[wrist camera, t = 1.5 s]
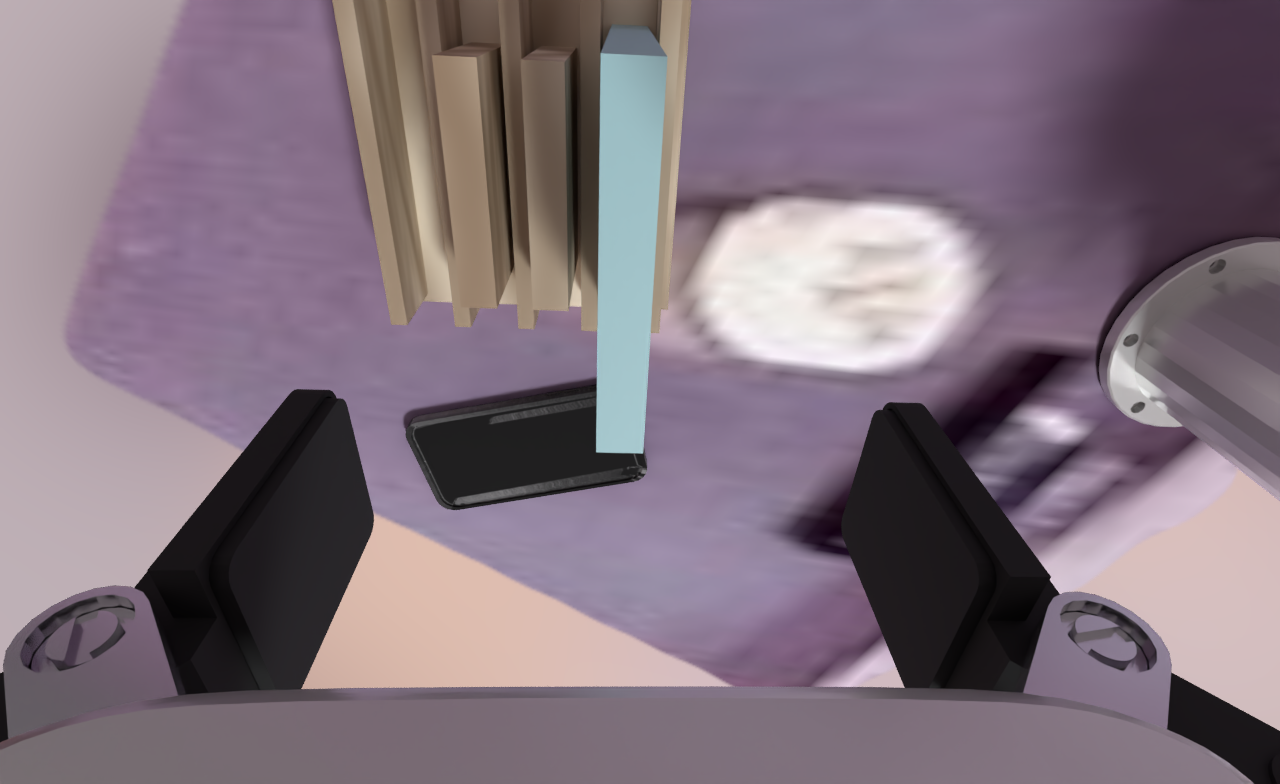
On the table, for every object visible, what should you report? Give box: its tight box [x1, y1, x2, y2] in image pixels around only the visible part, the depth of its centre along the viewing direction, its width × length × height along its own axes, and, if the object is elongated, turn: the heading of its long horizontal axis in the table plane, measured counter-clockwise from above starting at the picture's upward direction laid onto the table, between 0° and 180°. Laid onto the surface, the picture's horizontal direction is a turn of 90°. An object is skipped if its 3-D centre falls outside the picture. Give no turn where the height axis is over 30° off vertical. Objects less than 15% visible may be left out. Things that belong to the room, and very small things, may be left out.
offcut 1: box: [432, 42, 515, 308], centre depth 29 cm, size 2×10×7 cm, turn 178°
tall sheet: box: [596, 24, 668, 453], centre depth 25 cm, size 2×12×16 cm, turn 177°
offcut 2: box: [521, 46, 578, 311], centre depth 29 cm, size 2×10×7 cm, turn 177°
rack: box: [332, 0, 691, 333], centre depth 30 cm, size 15×16×5 cm
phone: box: [406, 385, 647, 510], centre depth 43 cm, size 8×1×15 cm
